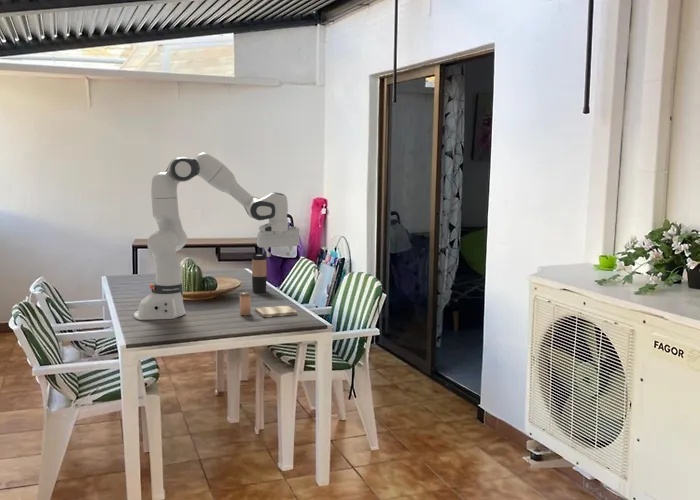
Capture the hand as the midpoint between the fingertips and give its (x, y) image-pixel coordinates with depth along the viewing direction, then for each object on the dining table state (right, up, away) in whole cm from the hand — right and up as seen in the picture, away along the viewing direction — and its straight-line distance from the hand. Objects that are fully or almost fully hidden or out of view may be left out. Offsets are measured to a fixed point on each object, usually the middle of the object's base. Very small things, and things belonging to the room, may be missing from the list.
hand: (278, 256), depth 308 cm
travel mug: (-15, -20, +41) cm, 47 cm away
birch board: (0, -26, -6) cm, 27 cm away
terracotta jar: (-14, -27, -10) cm, 32 cm away
